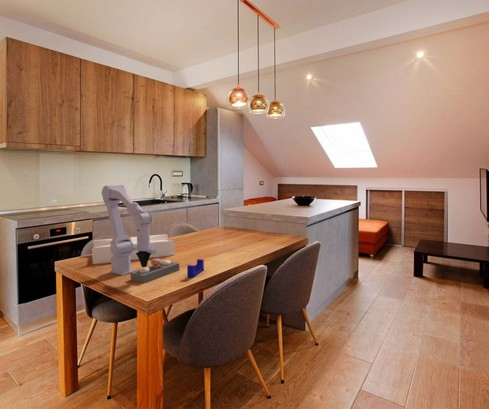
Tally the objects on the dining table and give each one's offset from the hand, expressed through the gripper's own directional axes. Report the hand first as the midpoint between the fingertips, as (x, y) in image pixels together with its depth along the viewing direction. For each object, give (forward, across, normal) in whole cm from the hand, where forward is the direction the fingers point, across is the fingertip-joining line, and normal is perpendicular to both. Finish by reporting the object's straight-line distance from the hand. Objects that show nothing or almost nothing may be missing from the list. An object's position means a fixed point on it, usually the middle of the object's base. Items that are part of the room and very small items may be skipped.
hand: (144, 266), depth 149 cm
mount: (+6, 0, +7) cm, 9 cm away
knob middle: (+3, 0, +7) cm, 8 cm away
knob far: (+6, 0, +14) cm, 15 cm away
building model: (+7, -40, +26) cm, 48 cm away
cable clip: (+6, +15, +18) cm, 24 cm away
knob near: (+6, 0, 0) cm, 6 cm away
